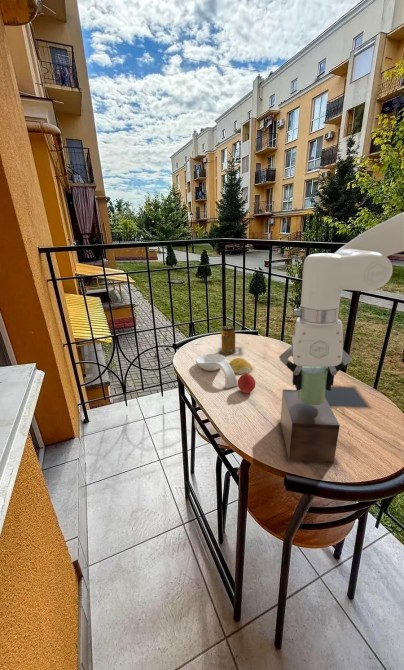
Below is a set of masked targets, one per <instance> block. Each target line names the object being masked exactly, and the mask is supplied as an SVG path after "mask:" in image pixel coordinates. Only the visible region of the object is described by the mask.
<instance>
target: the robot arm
mask: <svg viewBox="0 0 404 670" xmlns="http://www.w3.org/2000/svg"><path fill="white" fill-rule="evenodd" d="M403 252H404V211H402V212H400V213H398V214H396V215H394V216H393V217H390V218H389V219H387V220H384V221H382V222H381V223H379V224H376V225H375V226H373V227H370V228H369V229H367V230H365V231H364V232H362V233H360V234H358V235H357V236H356V237H353V239H351V240H350V241H348V242H347V243H346V244H344V245H343V246H341V247H340V248H339V249H337V250H336V251H335V252H334V253H333V252H332V253H329V252H326V253H325V252H322V253H313V254H312V253H311V254H309V255H307V256H306V257H305V258H304V260H303V267H302V283H301V295H300V296H301V297H300V304H299V307H298V308H294V309H293V311H292V314H293V316H297V317H298V318H296V321H295V324H294V329H293V332H292V338H291V345H290V347H288V348H287V349H286V350H285V351H284V352H283V353H281V354H280V355H279V357H278V358H279V361H280V362H281V363H282V364H283V365H284V366H286V368H287V369H288V370H289V371H291V372H292V386H295V390H300V386H301V374H300V371H301V369H302V367H303V366H326V367H327V368H328V374H327V383H326V390H328V391H330V390H331V387H334V382H335V376H336V375H337V374H338V372H339V371H340V370H342V369H343V368H344V367H345V366H346V365H347V364H348V365H349V363H350V362H352V360H353V359H352V357H351V356H350V355H349V354H348V353H347V352H346V351H345V349H344V331H343V321H342V320H341V319H339V314H340V313H339V312H340V304H341V294H342V291H343V290H344V291H357V292H372V291H375V290H378V289H380V288H382V287H383V286H385V285H386V284H387V283H388V282H389V281H390V279H391V278H392V275H393V271H394V269H393V263H392V262H391V260H390V259H389V258H388V257H390V256H392V255H395V254H399V253H403ZM289 358H292V361H291V360H290V359H289Z"/></svg>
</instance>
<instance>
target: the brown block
mask: <svg viewBox="0 0 404 670" xmlns="http://www.w3.org/2000/svg"><path fill="white" fill-rule="evenodd" d="M331 407H332V406H330V405H329V404H328V402H327V400H326V398H325V401H324V402H323V403H322V404H319V405H310V404H306V403H304V402H302V401H300V400H299V398H298V390H297V389H282V395H281V409H280V421H279V423H280V426H281V431H282V436H283V440H284V445H285V449H286V452H287V459H288V461H299V462H300V461H302V462H303V461H304V462H318V463H332V464H333V463H335V459H336V458H335V457H336V451H337V445H338V439H339V433H340V427H341V424H340V423H339V421H338V419H337V417H336V415H335V413H334V411H333V409H332V408H331Z"/></svg>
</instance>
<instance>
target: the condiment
mask: <svg viewBox="0 0 404 670" xmlns="http://www.w3.org/2000/svg"><path fill="white" fill-rule="evenodd" d="M221 352H222V354H225V355H232V354H235V352H236V332H235V327H234V326H233V325H224V326H222V327H221Z"/></svg>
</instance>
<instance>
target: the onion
mask: <svg viewBox="0 0 404 670" xmlns="http://www.w3.org/2000/svg"><path fill="white" fill-rule="evenodd" d="M237 383H238V385H237V387H238V389H239V390H240V392H242V393H244V394H249V393H251V392H253V391H254V390H255V388H256V380H255V378H254V377H253V376H252V375H251V374H249V372H246V373H242V374H241V375H240V376H239V378H238V379H237Z"/></svg>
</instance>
